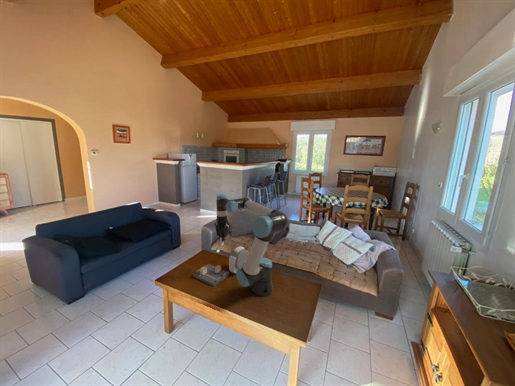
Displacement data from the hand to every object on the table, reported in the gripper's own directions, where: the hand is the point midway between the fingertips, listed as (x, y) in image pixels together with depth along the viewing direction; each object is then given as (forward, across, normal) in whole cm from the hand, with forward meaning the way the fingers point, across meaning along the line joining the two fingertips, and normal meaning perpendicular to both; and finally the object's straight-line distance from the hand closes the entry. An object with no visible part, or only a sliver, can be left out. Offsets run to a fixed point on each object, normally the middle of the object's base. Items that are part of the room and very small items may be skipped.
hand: (221, 245), depth 166 cm
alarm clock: (+26, -8, -12) cm, 29 cm away
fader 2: (+23, +3, +1) cm, 23 cm away
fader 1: (+23, +11, +9) cm, 27 cm away
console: (+25, +6, +5) cm, 26 cm away
